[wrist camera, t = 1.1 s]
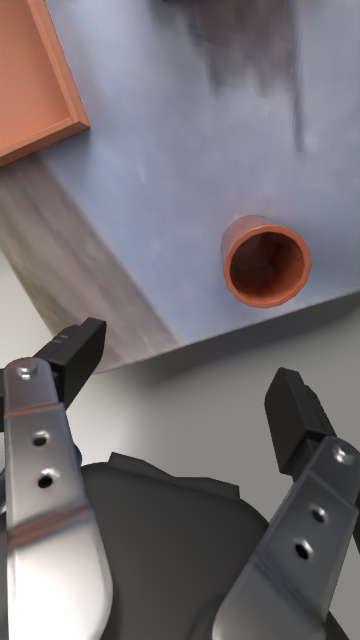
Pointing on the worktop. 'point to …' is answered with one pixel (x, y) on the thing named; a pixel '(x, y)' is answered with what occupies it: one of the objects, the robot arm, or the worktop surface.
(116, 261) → the worktop surface
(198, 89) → the worktop surface
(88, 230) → the worktop surface
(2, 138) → the terracotta tray
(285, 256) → the terracotta cup
